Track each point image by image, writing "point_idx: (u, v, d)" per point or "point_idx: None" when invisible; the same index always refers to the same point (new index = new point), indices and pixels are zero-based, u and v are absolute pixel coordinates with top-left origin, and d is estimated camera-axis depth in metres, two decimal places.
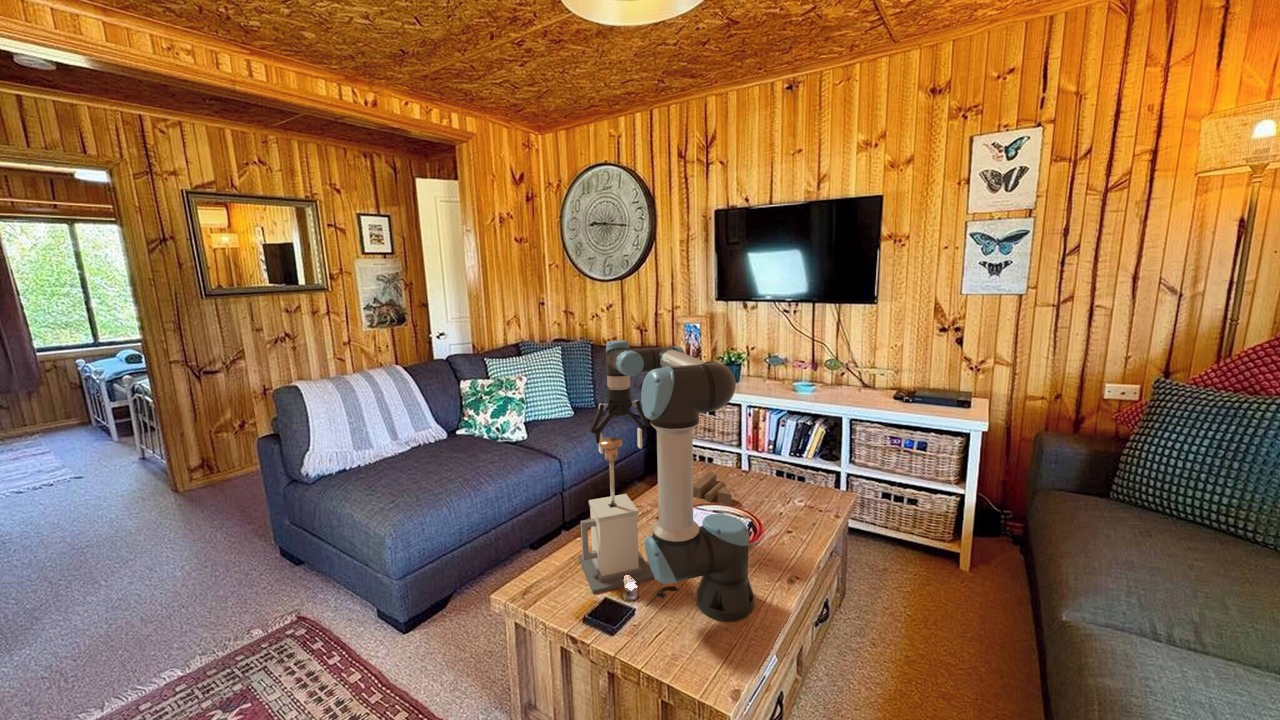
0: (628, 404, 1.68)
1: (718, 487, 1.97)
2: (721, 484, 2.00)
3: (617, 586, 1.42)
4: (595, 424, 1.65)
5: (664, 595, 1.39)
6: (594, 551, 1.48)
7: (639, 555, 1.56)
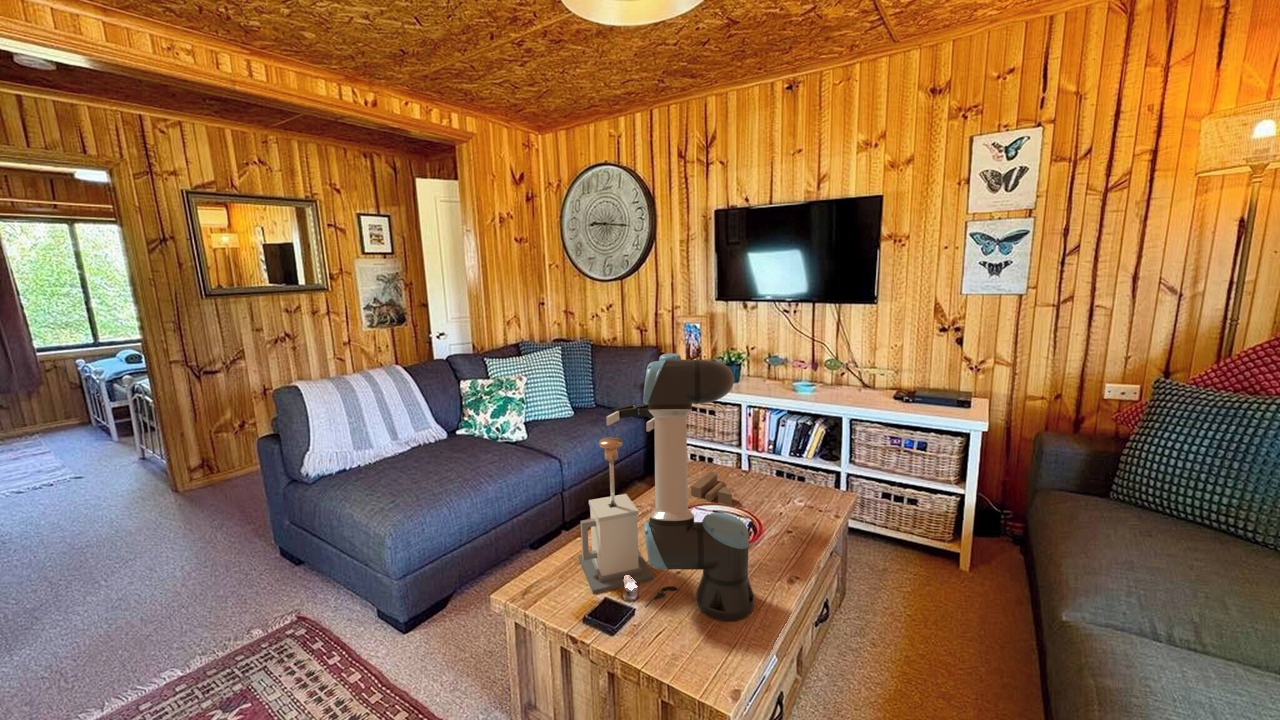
0: None
1: (719, 487, 1.98)
2: (722, 484, 2.00)
3: (617, 586, 1.42)
4: (618, 408, 1.64)
5: (664, 595, 1.39)
6: (594, 551, 1.48)
7: (639, 555, 1.56)
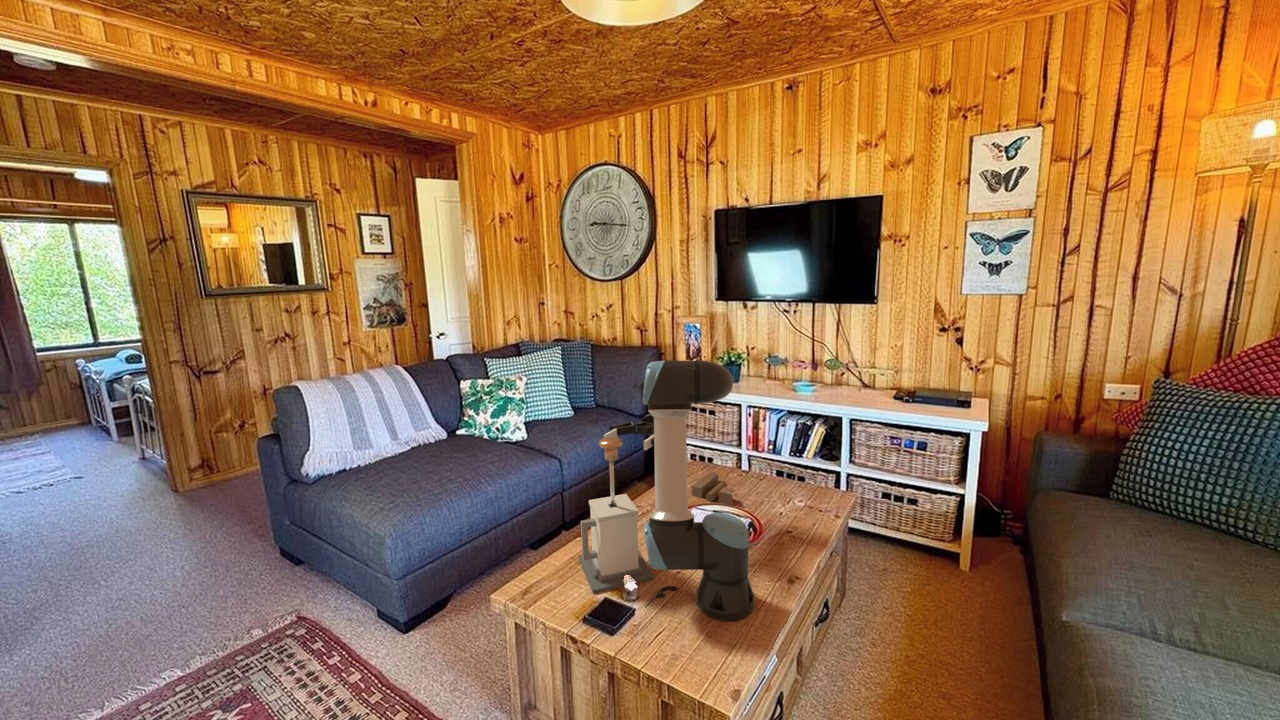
0: None
1: (719, 487, 1.98)
2: (723, 484, 2.00)
3: (617, 586, 1.42)
4: (616, 425, 1.64)
5: (664, 595, 1.39)
6: (594, 551, 1.48)
7: (639, 555, 1.56)
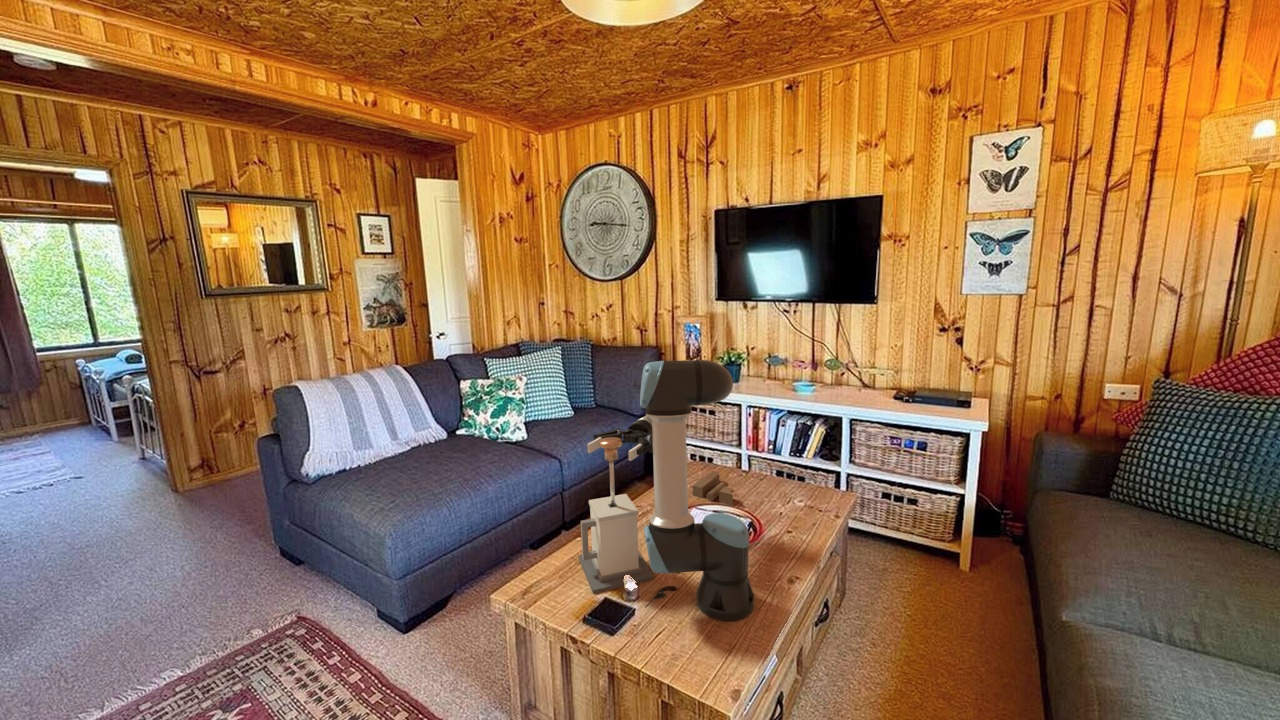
0: (643, 433, 1.56)
1: (720, 487, 1.98)
2: (723, 484, 2.00)
3: (617, 586, 1.42)
4: (601, 433, 1.56)
5: (664, 595, 1.39)
6: (594, 551, 1.48)
7: (639, 555, 1.56)
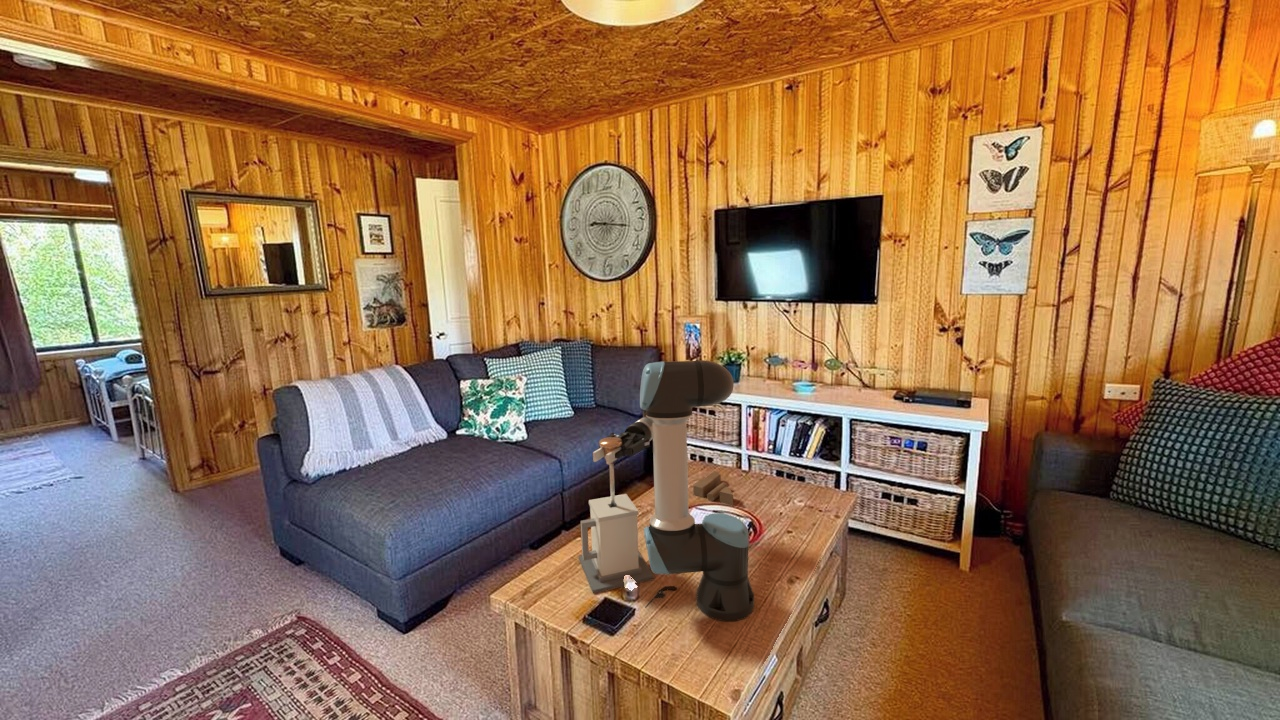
0: (640, 436, 1.54)
1: (721, 487, 1.98)
2: (724, 484, 2.00)
3: (617, 586, 1.42)
4: None
5: (664, 595, 1.39)
6: (594, 551, 1.48)
7: (639, 555, 1.56)
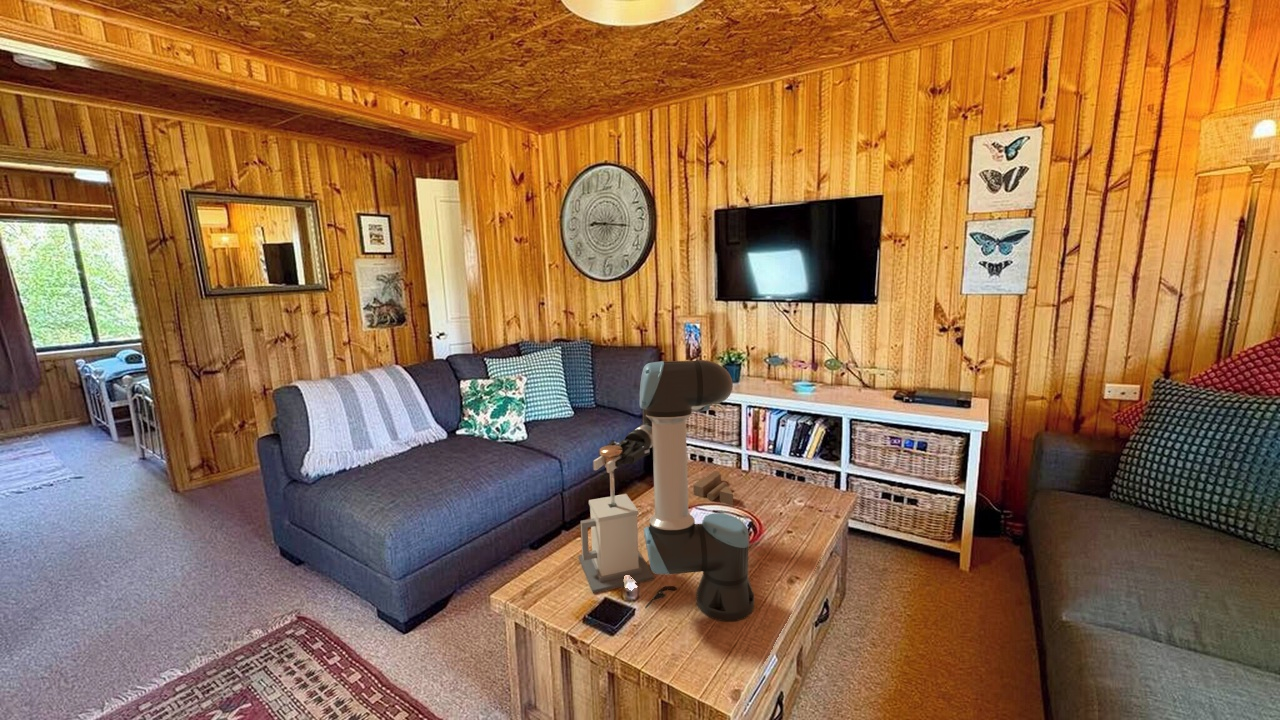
0: (640, 443, 1.54)
1: (721, 486, 1.98)
2: (725, 484, 2.00)
3: (617, 586, 1.42)
4: None
5: (664, 595, 1.39)
6: (594, 551, 1.48)
7: (639, 555, 1.56)
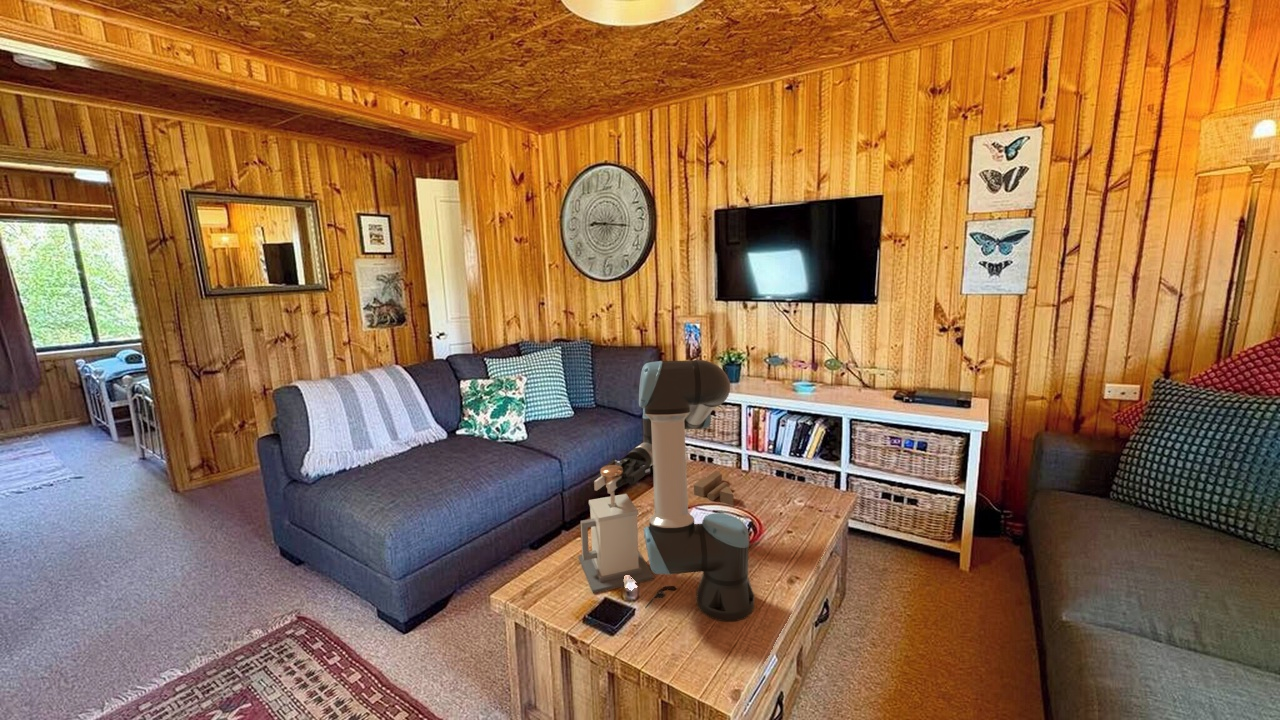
0: (640, 462, 1.55)
1: (722, 487, 1.98)
2: (725, 484, 2.00)
3: (617, 586, 1.42)
4: None
5: (664, 595, 1.39)
6: (594, 551, 1.48)
7: (639, 555, 1.56)
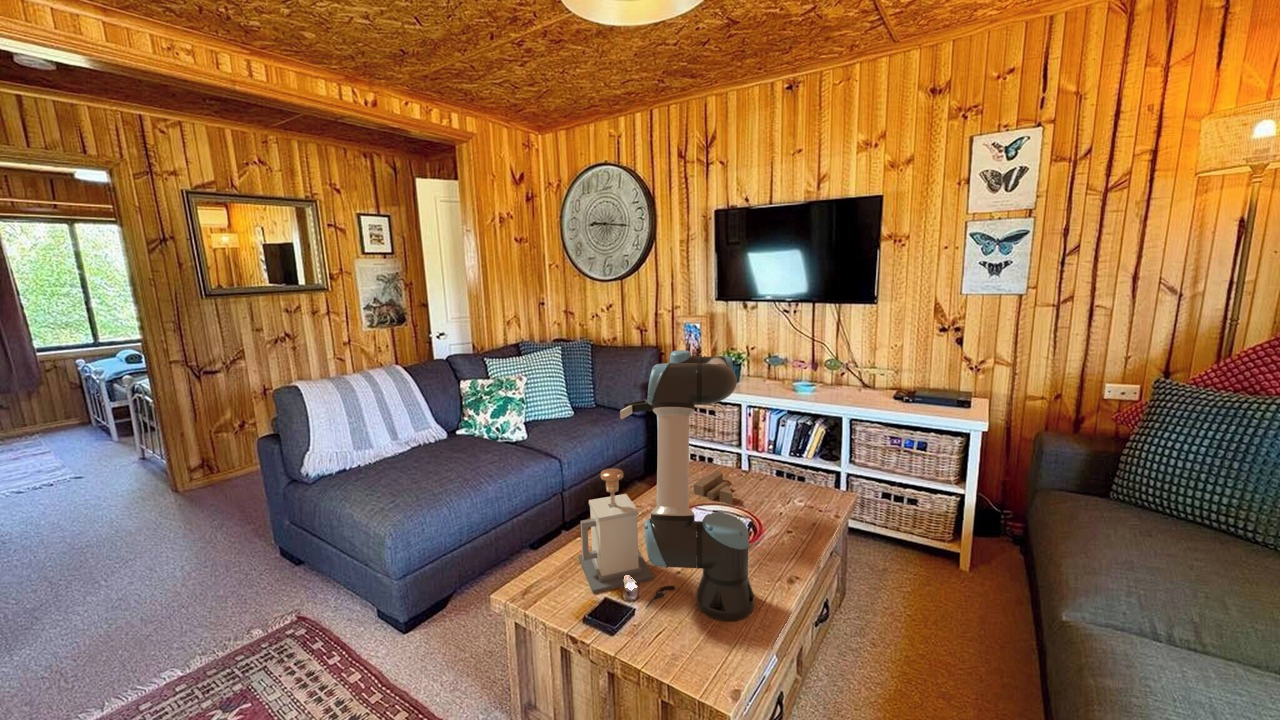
0: None
1: (722, 486, 1.98)
2: (726, 483, 2.01)
3: (617, 586, 1.42)
4: (631, 402, 1.70)
5: (663, 595, 1.39)
6: (594, 551, 1.48)
7: (639, 555, 1.56)
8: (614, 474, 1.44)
